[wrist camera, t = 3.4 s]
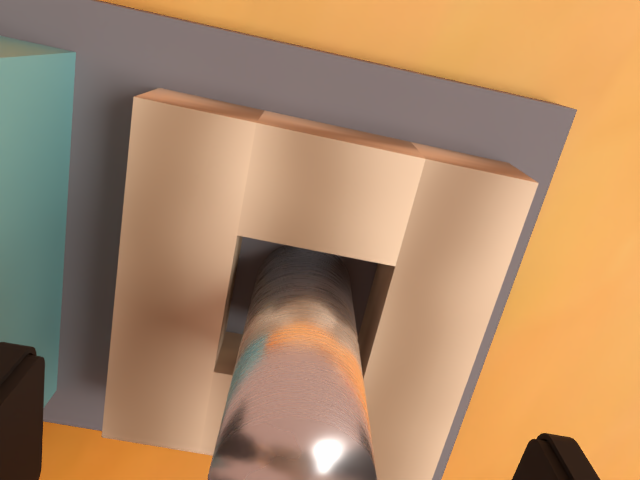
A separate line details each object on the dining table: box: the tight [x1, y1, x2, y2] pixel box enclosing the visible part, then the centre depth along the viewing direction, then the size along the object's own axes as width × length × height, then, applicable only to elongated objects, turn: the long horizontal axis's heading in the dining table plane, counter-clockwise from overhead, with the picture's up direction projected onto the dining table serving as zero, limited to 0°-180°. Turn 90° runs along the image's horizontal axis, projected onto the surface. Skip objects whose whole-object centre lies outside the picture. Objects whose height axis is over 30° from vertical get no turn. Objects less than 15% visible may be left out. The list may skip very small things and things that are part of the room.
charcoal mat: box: [0, 0, 577, 480], centre depth 19 cm, size 28×15×2 cm, turn 78°
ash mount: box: [102, 88, 539, 480], centre depth 18 cm, size 11×11×2 cm
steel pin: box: [208, 245, 377, 480], centre depth 15 cm, size 3×3×9 cm
